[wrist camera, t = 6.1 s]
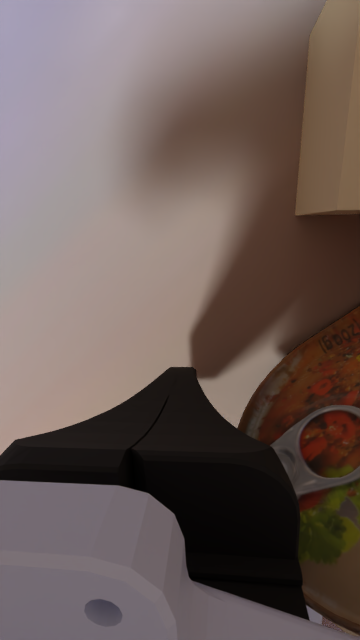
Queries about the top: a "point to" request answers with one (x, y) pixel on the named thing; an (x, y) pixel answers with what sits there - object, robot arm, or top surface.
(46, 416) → the top surface
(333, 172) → the kraft box
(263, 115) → the top surface
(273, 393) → the tin
